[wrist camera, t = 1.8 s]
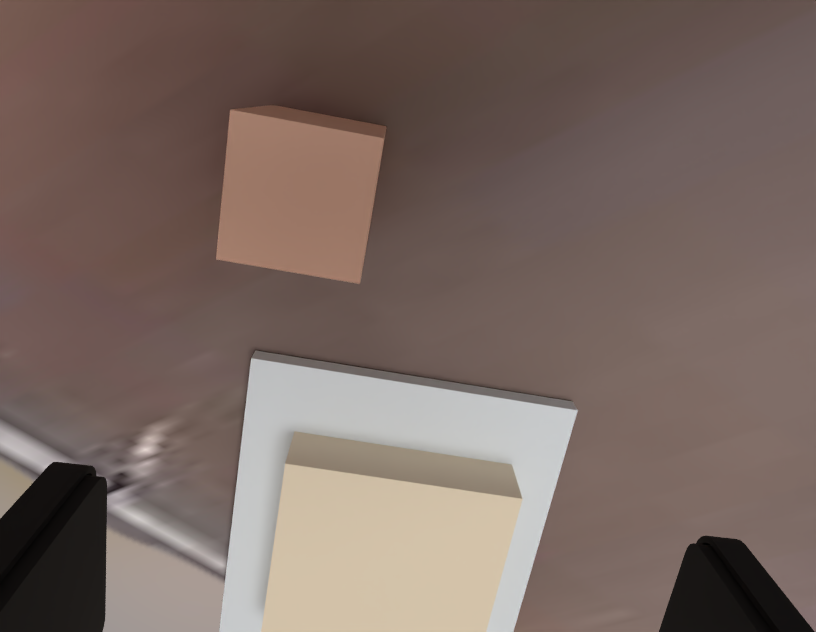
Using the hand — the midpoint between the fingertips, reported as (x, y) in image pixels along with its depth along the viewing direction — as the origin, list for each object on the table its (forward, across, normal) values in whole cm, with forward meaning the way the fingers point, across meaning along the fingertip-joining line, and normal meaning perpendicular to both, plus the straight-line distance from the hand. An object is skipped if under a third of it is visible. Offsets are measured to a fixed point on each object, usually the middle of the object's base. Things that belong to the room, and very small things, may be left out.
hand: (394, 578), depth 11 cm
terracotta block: (+22, +4, -4) cm, 22 cm away
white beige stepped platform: (+22, -2, +15) cm, 26 cm away
